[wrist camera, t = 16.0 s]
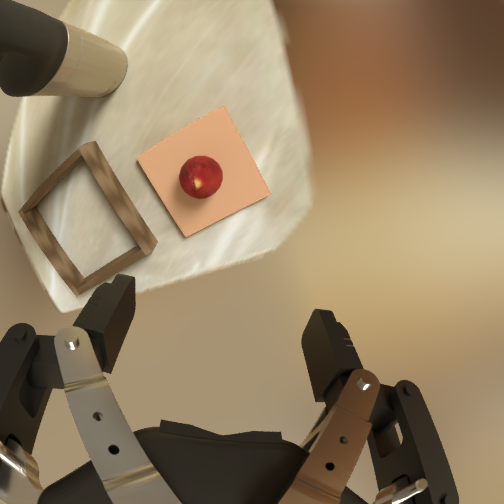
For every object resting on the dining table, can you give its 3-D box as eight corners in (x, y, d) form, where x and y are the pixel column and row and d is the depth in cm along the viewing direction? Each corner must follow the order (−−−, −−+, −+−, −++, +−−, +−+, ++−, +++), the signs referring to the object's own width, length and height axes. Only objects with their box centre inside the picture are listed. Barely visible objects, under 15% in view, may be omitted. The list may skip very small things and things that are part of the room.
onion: (177, 174, 38) (162, 187, 31) (201, 144, 37) (192, 150, 30) (207, 198, 40) (199, 216, 33) (232, 170, 39) (230, 181, 31)
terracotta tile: (139, 156, 38) (136, 157, 37) (224, 106, 36) (224, 105, 34) (187, 233, 44) (185, 237, 43) (270, 191, 42) (271, 194, 41)
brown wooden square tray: (30, 204, 40) (18, 211, 36) (95, 141, 36) (83, 143, 33) (84, 285, 48) (76, 296, 45) (157, 241, 45) (151, 252, 41)
